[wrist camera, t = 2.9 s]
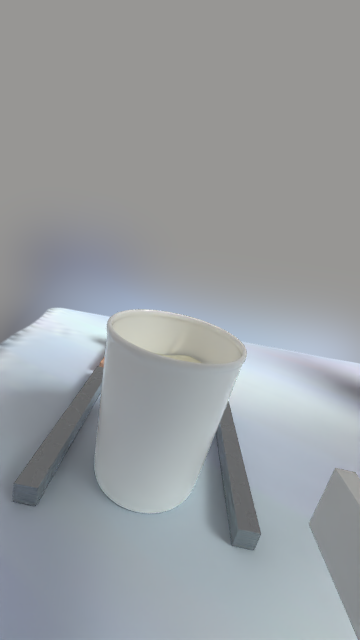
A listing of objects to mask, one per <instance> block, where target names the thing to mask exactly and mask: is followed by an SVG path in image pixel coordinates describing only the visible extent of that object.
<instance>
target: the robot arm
mask: <svg viewBox="0 0 360 640" xmlns="http://www.w3.org/2000/svg"><path fill="white" fill-rule="evenodd" d="M309 526H310V528H311V530H312V533H313V535H314V537H315V540H316V542H317V544H318V547H319V549H320V551H321V554H322V556H323V558H324V561H325V563H326V566H327V568H328V570H329V573H330V575H331V577H332V580H333V582H334V584H335V587H336V589H337V591H338V594H339V596H340V598H341V601H342V603H343V605H344V608H345V610H346V612H347V615H348V617H349V619H350V622H351V624H352V626H353V629H354V631H355V634H356V636H357V638H358V640H360V478H359V477H358V476H357V474H356V473H355V472H352V471H347V470H343V469H338V468H335V470H334V472H333V474H332V476H331V478H330V480H329V482H328V484H327V486H326V489H325V491H324V493H323V495H322V497H321V499H320V501H319V503H318V505H317V507H316V510H315V512H314V514H313V516H312V518H311V520H310V522H309Z"/></svg>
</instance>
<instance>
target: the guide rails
mask: <svg viewBox="0 0 360 640" xmlns="http://www.w3.org/2000/svg"><path fill="white" fill-rule="evenodd" d="M103 369H104V367H99V366H97V368H96V369H95V370H94V372H93V373H92V375H91V376H90V377H89V379H88V380H87V382H86V383H85V384H84V386H83V387H82V389H81V390H80V391H79V393H78V394H77V396H76V397H75V398H74V400H73V401H72V403H71V404H70V406H69V407H68V408H67V410H66V411H65V413H64V414H63V415H62V417H61V418H60V420H59V421H58V422H57V424H56V425H55V427H54V428H53V429H52V431H51V432H50V434H49V435H48V436H47V438H46V439H45V441H44V442H43V443H42V445H41V446H40V448H39V449H38V450H37V452H36V453H35V455H34V456H33V457H32V459H31V460H30V462H29V463H28V464H27V466H26V467H25V469H24V470H23V471H22V473H21V474H20V476H19V477H18V478H17V480H16V481H15V483H14V490H13V502H18V503H23V504H27V505H32V506H36V505H37V503H38V502H39V500H40V498H41V496H42V495H43V493H44V491H45V489H46V487H47V486H48V484H49V482H50V480H51V479H52V477H53V475H54V473H55V472H56V470H57V468H58V466H59V465H60V463H61V461H62V459H63V458H64V456H65V454H66V452H67V451H68V449H69V447H70V445H71V444H72V442H73V440H74V438H75V437H76V435H77V433H78V431H79V430H80V428H81V426H82V424H83V423H84V421H85V419H86V417H87V416H88V414H89V412H90V410H91V409H92V407H93V405H94V403H95V402H96V400H97V398H98V396H99V395H100V393H101V388H102V378H103ZM216 436H217V443H218V450H219V457H220V464H221V471H222V479H223V486H224V493H225V500H226V507H227V514H228V521H229V528H230V535H231V542H232V546H235V547H240V548H245V549H250V550H254V549H255V547H256V544H257V542H258V540H259V537H260V535H261V532H260V528H259V524H258V520H257V516H256V512H255V508H254V504H253V499H252V495H251V491H250V487H249V483H248V479H247V475H246V471H245V467H244V463H243V459H242V454H241V450H240V446H239V442H238V438H237V434H236V430H235V426H234V422H233V418H232V414H231V409H230V405H229V401H228V403H227V405H226V408H225V411H224V413H223V416H222V418H221V421H220V424H219V426H218V429H217V431H216Z"/></svg>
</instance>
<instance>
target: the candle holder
mask: <svg viewBox="0 0 360 640" xmlns="http://www.w3.org/2000/svg"><path fill="white" fill-rule="evenodd" d="M246 357H247V351H246V348H245V346H244V345H243V344H242V342H241V341H240V340H239V339H237V338H236V337H235V336H233V335H232V334H230V333H229V332H227V331H225V330H223V329H221V328H219V327H217V326H215V325H212V324H210V323H208V322H205V321H202V320H199V319H196V318H192V317H189V316H185V315H181V314H177V313H171V312H166V311H158V310H144V309H142V310H141V309H138V310H127V311H122V312H119V313H116V314H114V315H113V316H111V317H110V318H109V320H108V322H107V339H106V349H105V359H104V369H103V378H102V388H101V397H100V407H99V417H98V426H97V436H96V447H95V459H94V470H95V476H96V479H97V482H98V484H99V486H100V488H101V489H102V491H103V492H104V493H105V494H106V495H107V496H108V497H109V498H110V499H111V500H112V501H113V502H115V503H116V504H118V505H119V506H121V507H123V508H126V509H128V510H131V511H134V512H139V513H147V514H153V513H161V512H165V511H169V510H171V509H173V508H175V507H177V506H179V505H180V504H182V503H183V502H184V501H185V500H186V499H187V498H188V497H189V495H190V494H191V492H192V490H193V489H194V486H195V484H196V482H197V480H198V477H199V475H200V472H201V470H202V467H203V465H204V462H205V460H206V457H207V454H208V452H209V449H210V447H211V444H212V442H213V439H214V436H215V434H216V431H217V429H218V426H219V424H220V421H221V418H222V416H223V413H224V411H225V408H226V405H227V403H228V400H229V398H230V395H231V393H232V390H233V387H234V385H235V382H236V380H237V377H238V375H239V372H240V370H241V367H242V365H243V363H244V362H245V360H246Z"/></svg>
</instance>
